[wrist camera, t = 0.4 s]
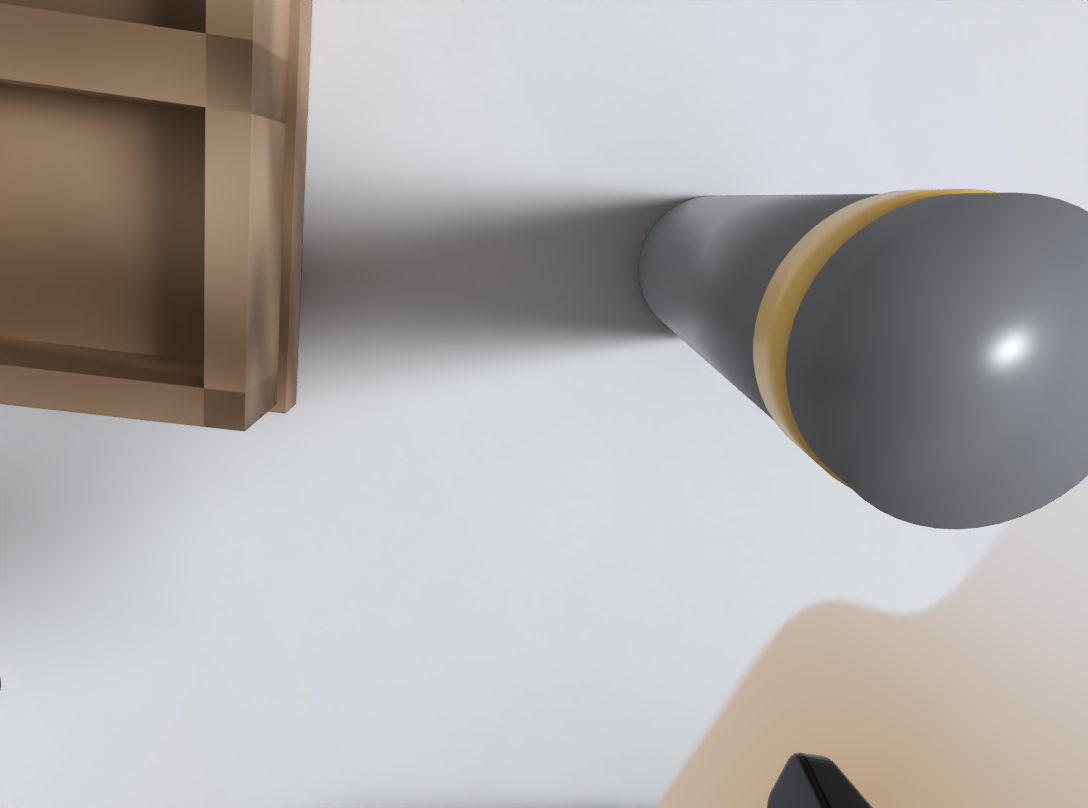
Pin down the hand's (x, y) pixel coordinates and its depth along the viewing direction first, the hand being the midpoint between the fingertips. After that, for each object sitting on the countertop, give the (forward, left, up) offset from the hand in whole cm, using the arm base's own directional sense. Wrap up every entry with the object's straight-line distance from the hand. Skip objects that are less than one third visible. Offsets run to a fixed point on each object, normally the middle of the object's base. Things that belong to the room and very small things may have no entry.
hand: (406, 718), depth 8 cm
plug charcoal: (+4, -6, -14) cm, 16 cm away
